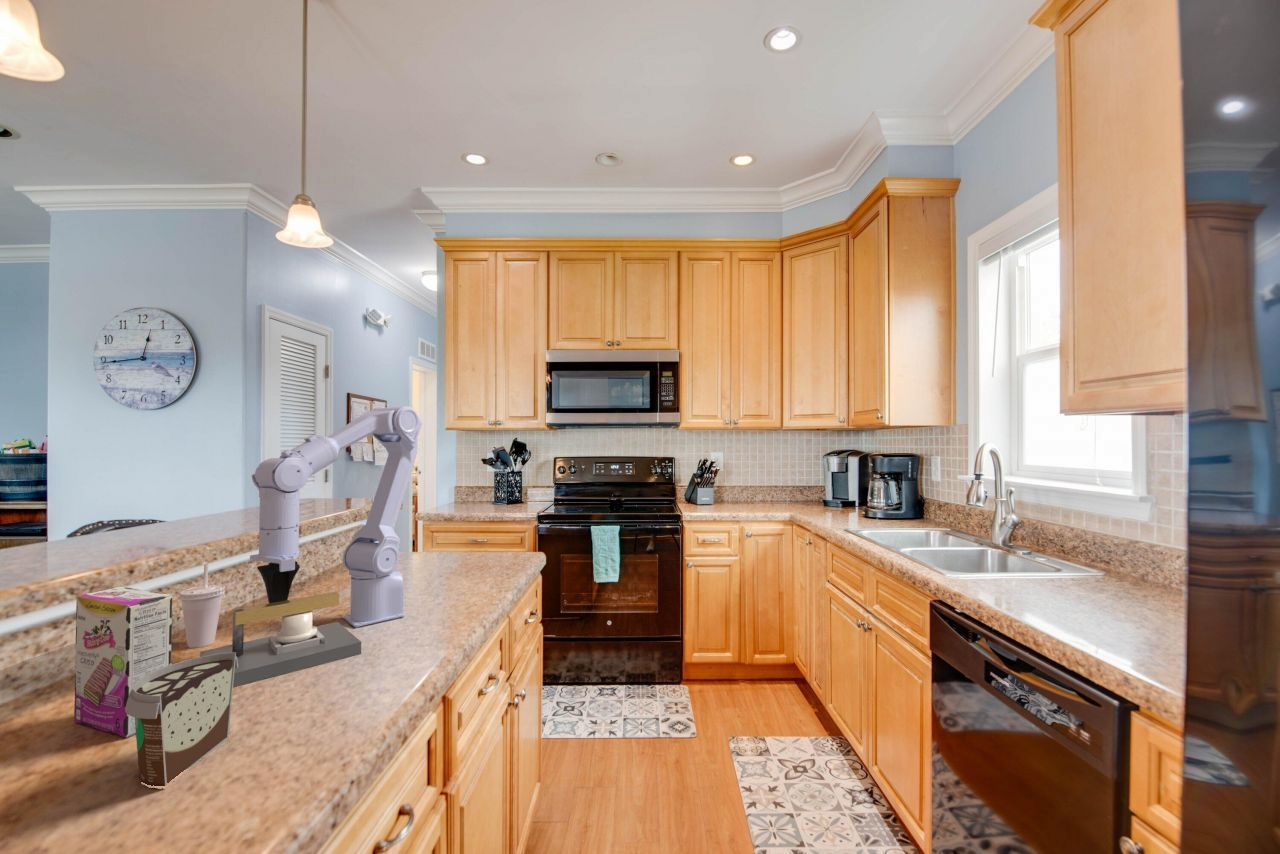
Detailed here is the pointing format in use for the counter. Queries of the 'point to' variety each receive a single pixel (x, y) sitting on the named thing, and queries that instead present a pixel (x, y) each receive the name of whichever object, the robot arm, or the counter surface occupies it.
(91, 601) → the candy bar box
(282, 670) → the socket block
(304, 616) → the plug
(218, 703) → the food container
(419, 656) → the counter surface
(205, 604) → the smoothie
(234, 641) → the tan l-shaped bar
